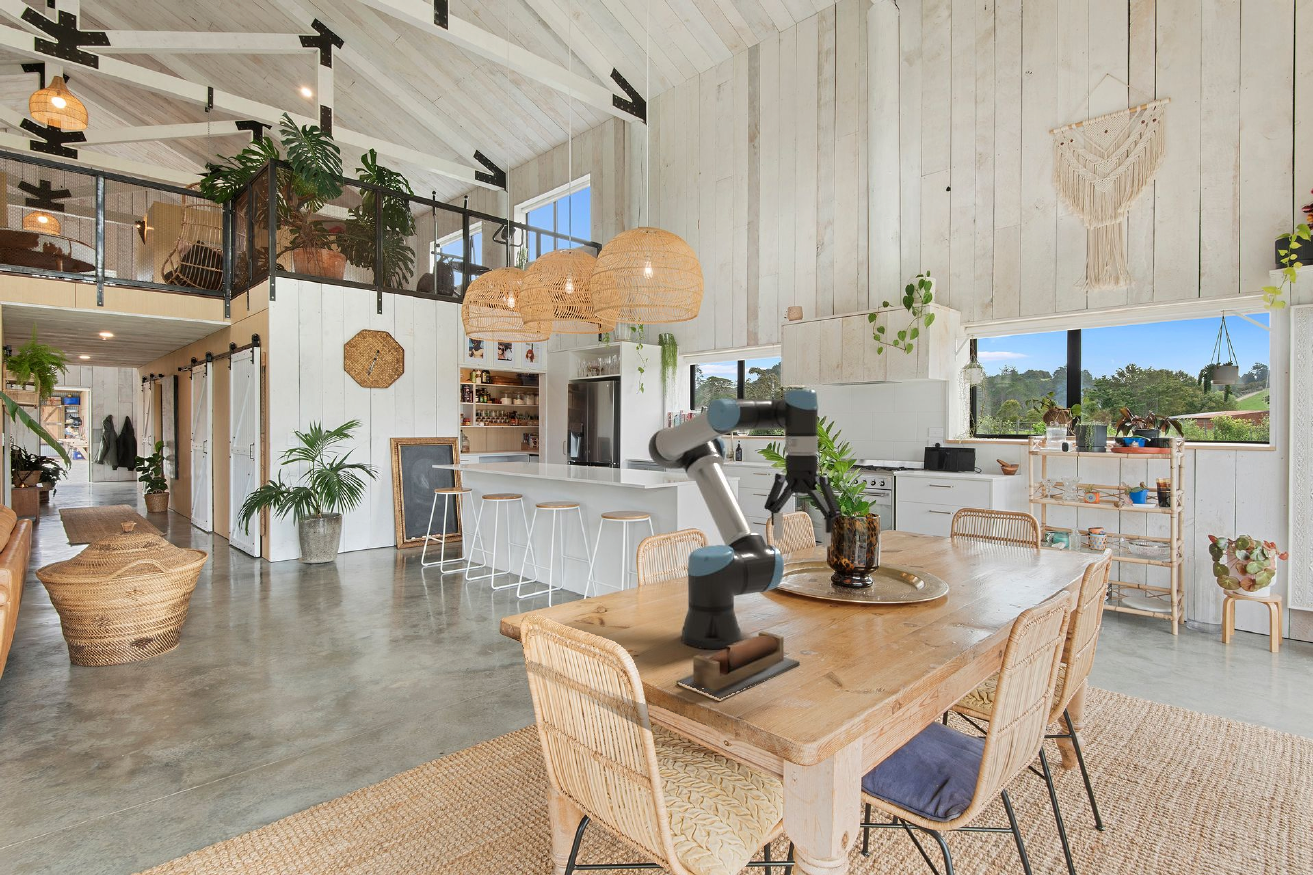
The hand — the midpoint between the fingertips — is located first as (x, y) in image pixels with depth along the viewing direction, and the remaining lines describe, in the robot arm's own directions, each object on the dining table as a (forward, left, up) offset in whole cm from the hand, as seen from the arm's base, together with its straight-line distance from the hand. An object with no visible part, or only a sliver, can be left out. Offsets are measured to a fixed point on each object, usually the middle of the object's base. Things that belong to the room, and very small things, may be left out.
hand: (801, 542), depth 158 cm
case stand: (-2, -21, -27) cm, 34 cm away
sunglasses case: (-2, -21, -24) cm, 32 cm away
